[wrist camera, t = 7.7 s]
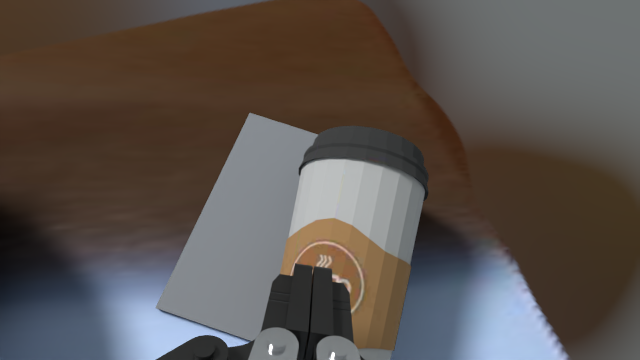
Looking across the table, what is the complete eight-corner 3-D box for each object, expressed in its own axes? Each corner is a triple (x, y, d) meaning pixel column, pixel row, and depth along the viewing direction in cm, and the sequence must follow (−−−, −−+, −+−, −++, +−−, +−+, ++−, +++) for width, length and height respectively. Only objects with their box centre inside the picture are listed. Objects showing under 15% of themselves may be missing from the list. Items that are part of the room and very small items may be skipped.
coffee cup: (205, 395, 17) (287, 118, 22) (278, 379, 24) (326, 174, 29) (383, 465, 13) (430, 123, 19) (404, 421, 21) (434, 184, 26)
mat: (362, 379, 23) (364, 380, 22) (157, 308, 23) (155, 307, 23) (410, 167, 29) (412, 164, 29) (250, 115, 30) (249, 112, 29)
